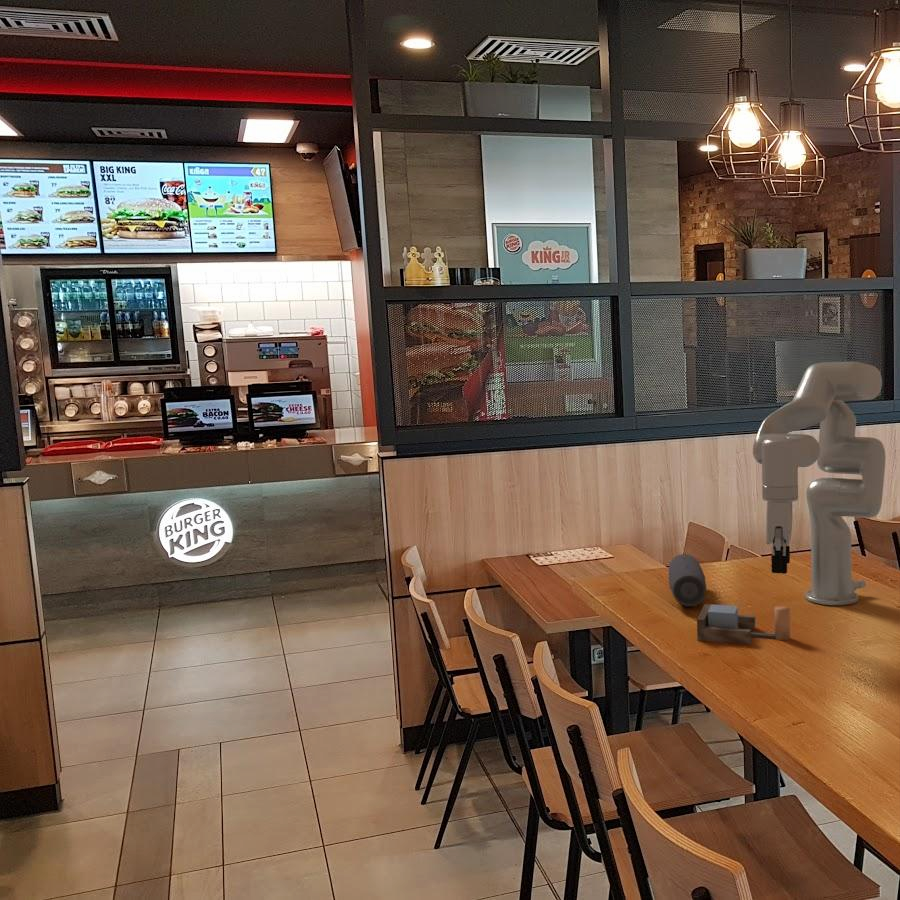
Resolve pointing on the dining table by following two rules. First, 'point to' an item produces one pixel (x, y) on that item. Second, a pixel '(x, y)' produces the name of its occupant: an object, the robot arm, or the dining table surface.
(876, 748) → the dining table surface
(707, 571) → the dining table surface
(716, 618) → the block
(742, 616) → the dark u-shaped frame
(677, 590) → the bluetooth speaker
